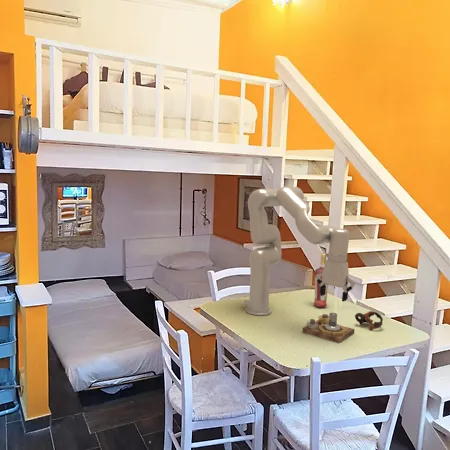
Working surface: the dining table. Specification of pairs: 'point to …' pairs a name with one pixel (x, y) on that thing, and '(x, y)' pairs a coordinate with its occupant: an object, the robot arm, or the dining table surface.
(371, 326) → the brown creature figurine
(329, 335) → the carrier board
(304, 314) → the dining table surface
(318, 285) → the liquor
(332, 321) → the knobbed round disc
